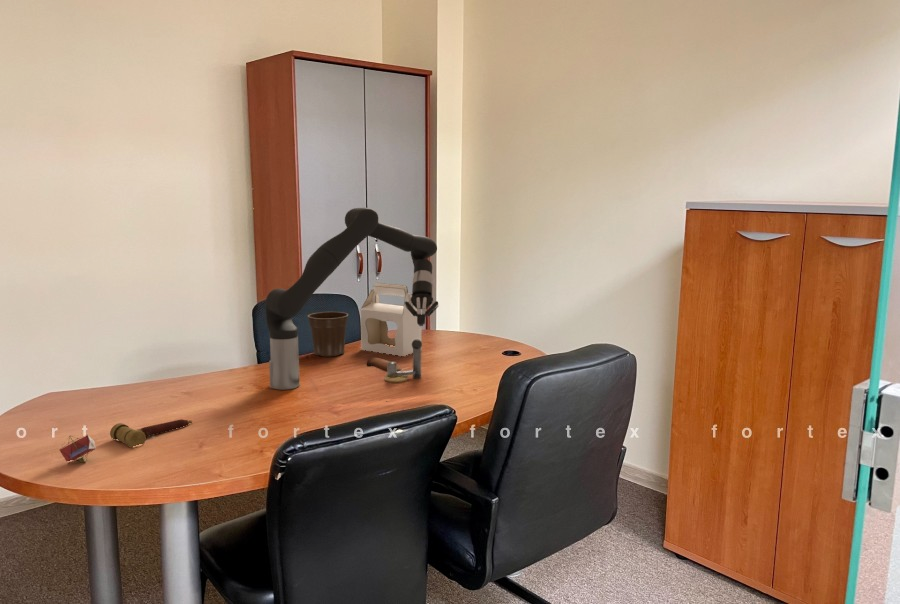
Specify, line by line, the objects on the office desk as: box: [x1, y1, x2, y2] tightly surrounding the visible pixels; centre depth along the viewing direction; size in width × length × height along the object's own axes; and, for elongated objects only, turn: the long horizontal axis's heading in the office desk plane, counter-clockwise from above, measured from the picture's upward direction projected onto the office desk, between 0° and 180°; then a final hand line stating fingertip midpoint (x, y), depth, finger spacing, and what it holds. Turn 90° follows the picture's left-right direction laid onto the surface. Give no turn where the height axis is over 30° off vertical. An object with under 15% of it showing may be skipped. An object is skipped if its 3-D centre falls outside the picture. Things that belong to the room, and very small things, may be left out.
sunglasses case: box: [365, 357, 403, 372], centre depth 253 cm, size 18×7×7 cm
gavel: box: [109, 418, 193, 448], centre depth 186 cm, size 21×5×10 cm
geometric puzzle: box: [59, 434, 96, 462], centre depth 167 cm, size 7×7×8 cm
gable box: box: [360, 282, 422, 357], centre depth 282 cm, size 22×13×28 cm, turn 58°
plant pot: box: [307, 311, 349, 358], centre depth 277 cm, size 16×16×16 cm
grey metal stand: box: [384, 339, 423, 384], centre depth 235 cm, size 13×8×14 cm, turn 111°
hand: (421, 324), depth 248 cm, fingers closed
